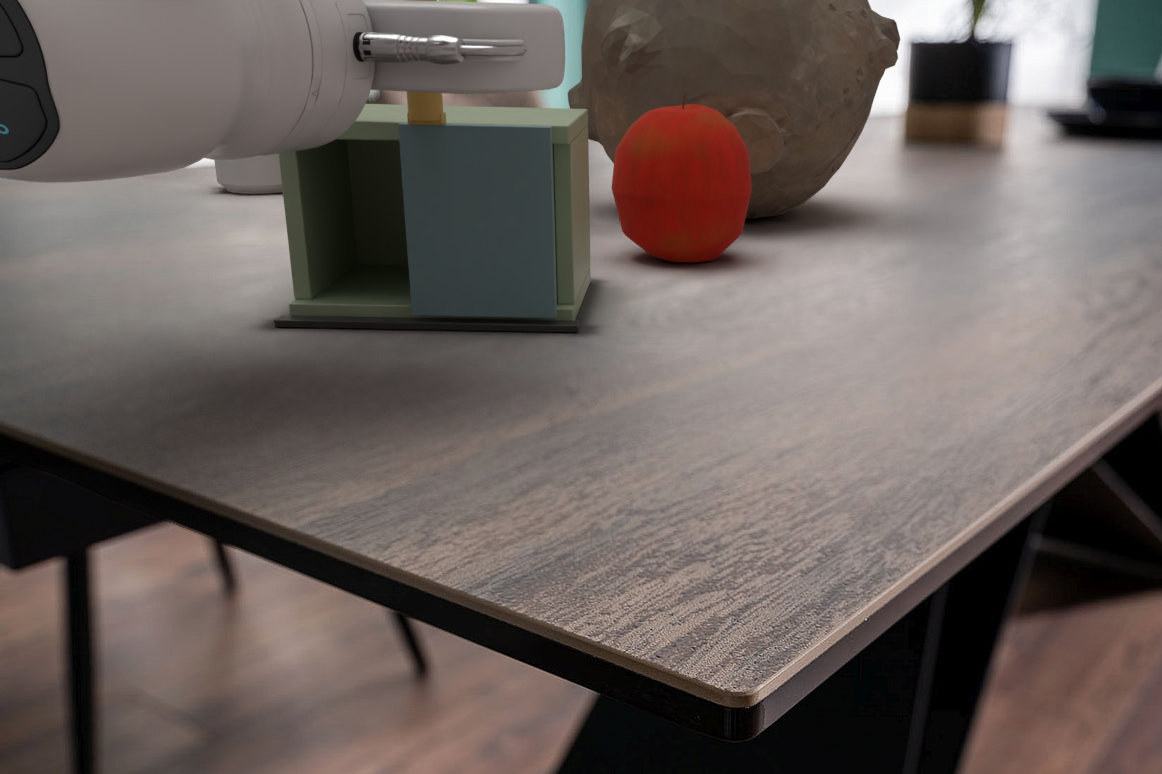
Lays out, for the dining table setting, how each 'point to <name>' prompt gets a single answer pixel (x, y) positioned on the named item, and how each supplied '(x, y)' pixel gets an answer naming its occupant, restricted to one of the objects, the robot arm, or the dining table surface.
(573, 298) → the cabinet
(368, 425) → the dining table surface
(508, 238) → the door
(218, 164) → the can
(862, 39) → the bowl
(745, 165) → the apple
